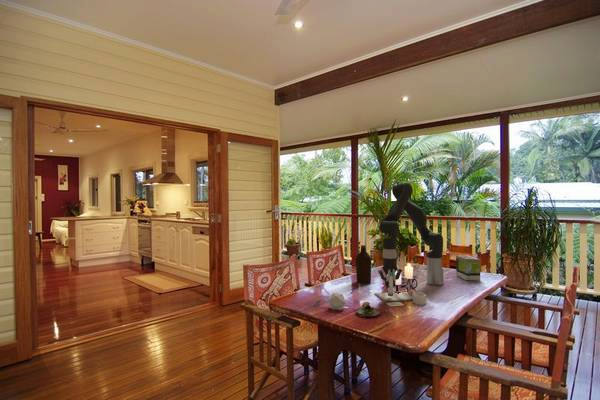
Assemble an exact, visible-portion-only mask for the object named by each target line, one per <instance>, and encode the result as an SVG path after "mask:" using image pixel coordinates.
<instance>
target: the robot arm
mask: <svg viewBox="0 0 600 400" xmlns="http://www.w3.org/2000/svg"><path fill="white" fill-rule="evenodd" d="M413 188H414V187H413V185H412V184H411V183H410V182H408V181H406V182H405V181H404V182H402V183H397V184H395V185H393V186H392V188H391V192H392V194H393V197H394V198H395V201H394V203H392V205H391V206H390V207H389V209H388V212H387V214H386V216H385V217H384V218H383V219H382V220H381V221H380V223H379V227H378V228H379V229H378V230H379V231H380V233H382V234H385V235H386V234H390V236H389V237H384V238H383V239H382V269H378V270H377V272H378V274H379V276H380V279H381V280H383V281H384V286H385V287H386V288H387V289H388V288H389V281H388V279H389V275H390V272H393V289H394V288H395V287H396V285H397V284H396V281H397V280H400V276H401V274H402V272H403V270H402V269H401V268H398V265H397V264H398V258H397V256H398V255H397V254H398V253H397V239H398V238H397V237H398V233H399V230H400V225H399V223H398V221H399V220H400V218H401V215H402V212H403V210H404V211H405V213H406V214H407V216H408V217H409V219H410V221H411V222H412V223H413V225H414V226H415V228H416V229H417V231H418V233H419V235H420V237H421V239H422V241H423V242H424V244H425V246H428V247H432V249H431V251H427V252H426V284H428V285H432V286H441V285H444V284H445V283H444V269H443V253H444V237H443V235H442V234H441V233H438V232H431V231H430V230H429V228H428V226H427V223H428V217H427V216H426V213H425V212H424V210H423V209H422V207H420V206H419V205H417V204H415V203H413V201H410V198H411V197H412V195H413V191H414V189H413Z"/></svg>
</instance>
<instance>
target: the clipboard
mask: <svg viewBox="0 0 600 400" xmlns="http://www.w3.org/2000/svg"><path fill="white" fill-rule="evenodd" d="M395 292H396V291H393V296H388V291H387V292H386V291H385V292H374V296H376V297H377V298H379V299H380V300H381V301H382V302H384V303H385V304H386V303H394V302H401V303H403V302H413V293H411V292H409V291H407V292H402V291H400V292H401V293H399V294H397V293H395Z"/></svg>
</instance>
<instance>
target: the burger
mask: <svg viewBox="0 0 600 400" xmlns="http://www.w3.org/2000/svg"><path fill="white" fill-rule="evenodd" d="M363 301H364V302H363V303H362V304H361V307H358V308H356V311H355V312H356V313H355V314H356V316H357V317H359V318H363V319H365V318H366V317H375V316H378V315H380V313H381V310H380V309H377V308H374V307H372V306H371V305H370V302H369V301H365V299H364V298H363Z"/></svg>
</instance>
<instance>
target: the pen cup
mask: <svg viewBox="0 0 600 400" xmlns="http://www.w3.org/2000/svg"><path fill="white" fill-rule="evenodd" d="M412 294H413V301H412V302H413V304H415V305H421V306H423V305H427V294H426V293H423V292H413V293H412Z"/></svg>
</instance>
